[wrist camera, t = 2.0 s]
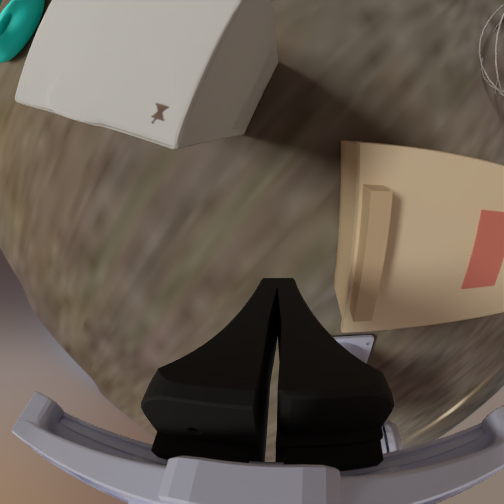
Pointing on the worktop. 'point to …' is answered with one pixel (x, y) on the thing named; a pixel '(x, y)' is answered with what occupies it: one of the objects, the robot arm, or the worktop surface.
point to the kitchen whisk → (495, 55)
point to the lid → (424, 239)
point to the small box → (153, 66)
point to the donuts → (18, 25)
